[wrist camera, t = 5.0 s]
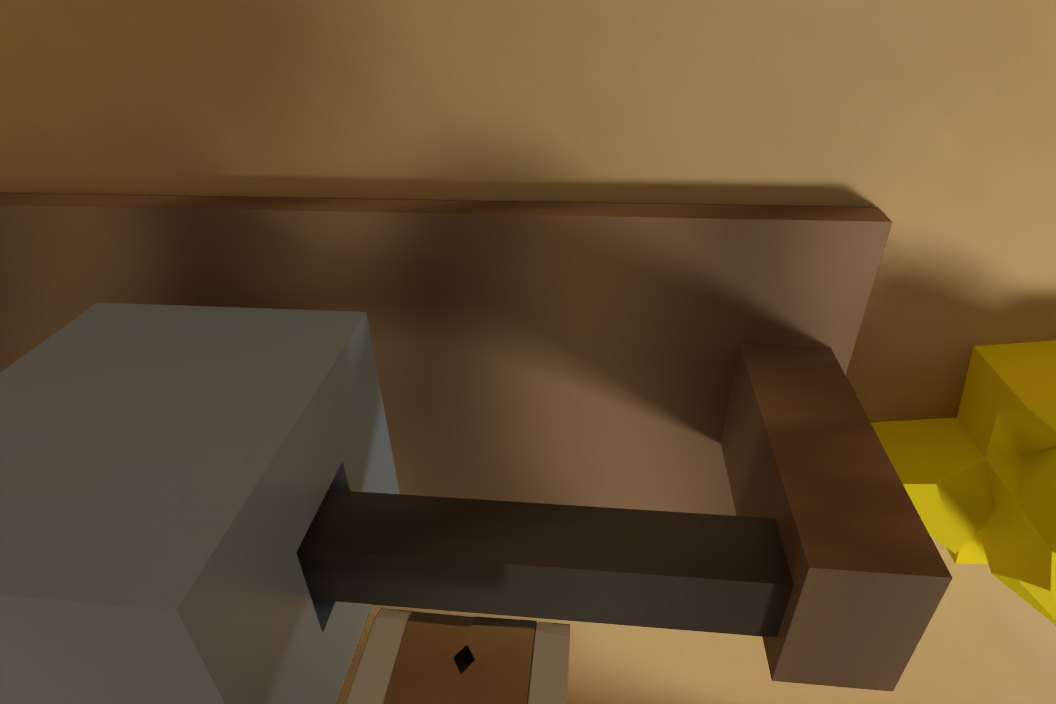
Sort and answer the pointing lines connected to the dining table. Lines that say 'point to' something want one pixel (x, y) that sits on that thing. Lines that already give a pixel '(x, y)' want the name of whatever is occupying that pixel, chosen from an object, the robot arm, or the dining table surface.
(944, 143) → the dining table surface
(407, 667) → the robot arm
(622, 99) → the dining table surface
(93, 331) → the sleeve
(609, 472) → the rail rig
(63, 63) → the dining table surface
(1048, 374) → the crumpled paper
